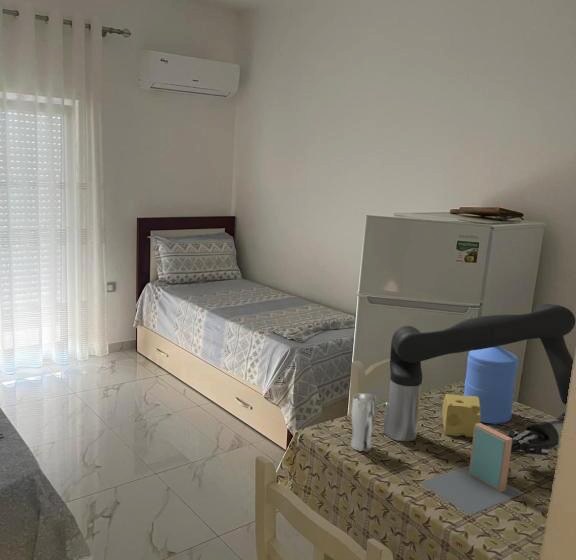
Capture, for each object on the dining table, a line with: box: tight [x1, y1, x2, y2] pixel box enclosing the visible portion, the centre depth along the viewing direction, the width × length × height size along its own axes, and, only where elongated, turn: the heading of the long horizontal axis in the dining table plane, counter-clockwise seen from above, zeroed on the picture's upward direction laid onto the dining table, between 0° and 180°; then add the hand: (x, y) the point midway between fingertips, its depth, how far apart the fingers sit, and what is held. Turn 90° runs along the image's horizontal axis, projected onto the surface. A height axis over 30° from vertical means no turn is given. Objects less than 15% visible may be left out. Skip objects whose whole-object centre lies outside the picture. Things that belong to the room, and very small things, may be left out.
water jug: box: [463, 346, 519, 425], centre depth 188 cm, size 16×16×28 cm
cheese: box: [441, 393, 482, 438], centre depth 177 cm, size 10×11×10 cm
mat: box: [419, 464, 524, 516], centre depth 144 cm, size 16×20×1 cm
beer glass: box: [350, 392, 377, 452], centre depth 163 cm, size 7×7×15 cm
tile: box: [469, 422, 512, 492], centre depth 146 cm, size 10×2×14 cm, turn 32°
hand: (506, 448), depth 149 cm, fingers closed
